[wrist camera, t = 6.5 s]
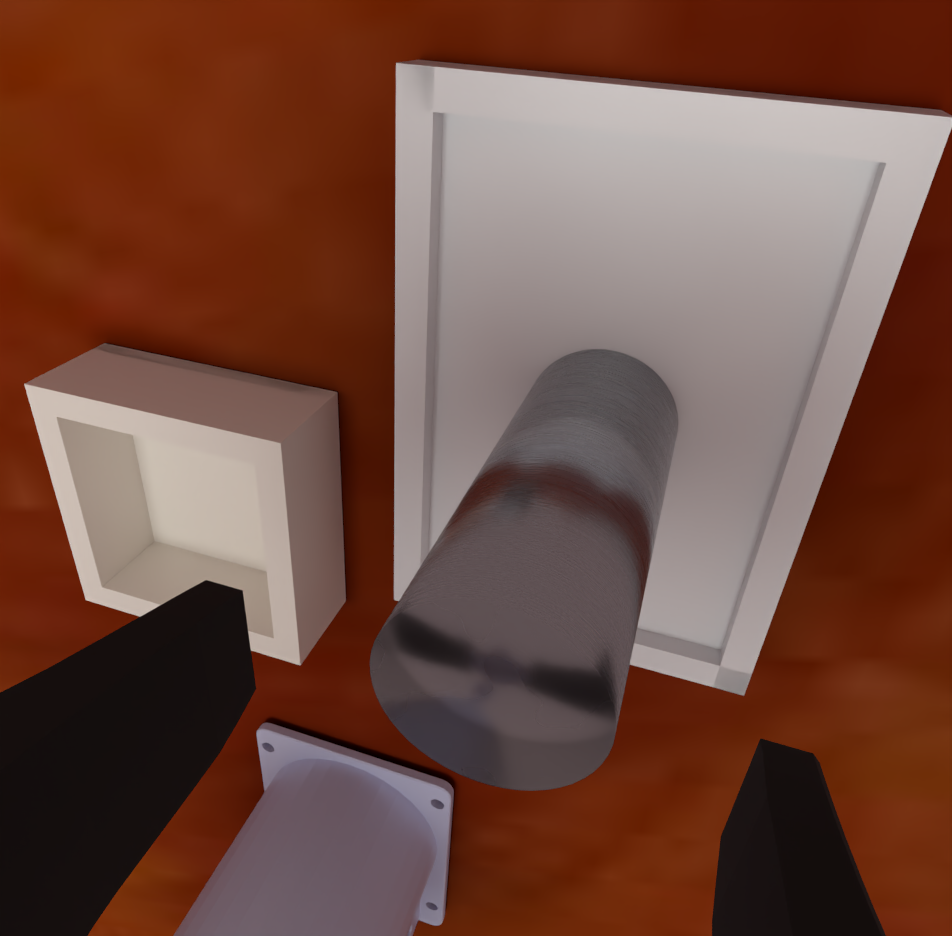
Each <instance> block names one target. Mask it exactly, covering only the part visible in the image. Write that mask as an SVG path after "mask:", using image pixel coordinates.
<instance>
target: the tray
mask: <svg viewBox="0 0 952 936" xmlns="http://www.w3.org/2000/svg"><path fill="white" fill-rule="evenodd" d="M951 128H952V116H951V115H949V114H948V113H946V112H944V111H942V110H936V109H926V108H916V107H905V106H895V105H884V104H874V103H864V102H853V101H843V100H832V99H822V98H812V97H801V96H791V95H781V94H770V93H760V92H749V91H739V90H729V89H718V88H708V87H697V86H687V85H677V84H666V83H656V82H646V81H635V80H625V79H614V78H604V77H594V76H583V75H573V74H562V73H552V72H542V71H531V70H521V69H511V68H500V67H490V66H479V65H469V64H459V63H448V62H438V61H427V60H413V61H406V62H399V63H396V203H395V454H394V600H397V601H399V600H400V599H401V597H402V595H403V594H404V592H405V591H406V589H407V587H408V586H409V584H410V582H411V581H412V579H413V578H414V576H415V574H416V573H417V571H418V570H419V568H420V566H421V565H422V563H423V562H424V560H425V558H426V557H427V555H428V553H429V552H430V550H431V549H432V547H433V545H434V544H435V542H436V541H437V539H438V537H439V536H440V534H441V533H442V531H443V529H444V528H445V526H446V525H447V523H448V521H449V520H450V518H451V516H452V515H453V513H454V512H455V510H456V508H457V507H458V505H459V504H460V502H461V500H462V499H463V497H464V496H465V494H466V492H467V491H468V489H469V488H470V486H471V484H472V483H473V481H474V479H475V478H476V476H477V475H478V473H479V471H480V470H481V468H482V467H483V465H484V463H485V462H486V460H487V459H488V457H489V455H490V454H491V452H492V451H493V449H494V447H495V446H496V444H497V442H498V441H499V439H500V438H501V436H502V434H503V433H504V431H505V430H506V428H507V426H508V425H509V423H510V422H511V420H512V418H513V417H514V415H515V413H516V412H517V410H518V409H519V407H520V405H521V404H522V402H523V401H524V399H525V397H526V396H527V394H528V393H529V391H530V389H531V388H532V386H533V385H534V383H535V381H536V380H537V378H538V377H539V376H540V374H541V373H542V372H543V371H544V370H545V369H546V368H547V367H548V366H549V365H551V364H552V363H553V362H555V361H556V360H558V359H560V358H562V357H564V356H566V355H568V354H571V353H574V352H578V351H582V350H590V349H606V350H612V351H617V352H620V353H624V354H627V355H629V356H631V357H634V358H636V359H638V360H639V361H641V362H643V363H645V364H646V365H647V366H649V367H650V368H651V369H652V370H654V371H655V372H656V373H657V374H658V375H659V376H660V377H661V379H662V380H663V381H664V383H665V384H666V385H667V387H668V389H669V390H670V392H671V394H672V396H673V399H674V401H675V404H676V408H677V412H678V432H677V437H676V442H675V447H674V452H673V457H672V461H671V466H670V471H669V476H668V481H667V486H666V490H665V495H664V500H663V505H662V510H661V515H660V520H659V524H658V529H657V534H656V539H655V544H654V549H653V553H652V558H651V563H650V568H649V573H648V578H647V583H646V587H645V592H644V597H643V602H642V607H641V612H640V617H639V621H638V626H637V631H636V636H635V641H634V646H633V650H632V655H631V660H630V665H634V666H638V667H641V668H645V669H649V670H652V671H656V672H660V673H663V674H667V675H671V676H674V677H678V678H681V679H685V680H689V681H692V682H696V683H700V684H703V685H707V686H711V687H714V688H718V689H722V690H725V691H729V692H733V693H736V694H740V695H744V694H745V691H746V689H747V686H748V683H749V680H750V678H751V675H752V672H753V670H754V667H755V664H756V661H757V659H758V656H759V653H760V650H761V648H762V645H763V642H764V639H765V637H766V634H767V631H768V628H769V626H770V623H771V620H772V618H773V615H774V612H775V609H776V607H777V604H778V601H779V598H780V596H781V593H782V590H783V587H784V585H785V582H786V579H787V577H788V574H789V571H790V568H791V566H792V563H793V560H794V557H795V555H796V552H797V549H798V546H799V544H800V541H801V538H802V536H803V533H804V530H805V527H806V525H807V522H808V519H809V516H810V514H811V511H812V508H813V505H814V503H815V500H816V497H817V494H818V492H819V489H820V486H821V484H822V481H823V478H824V475H825V473H826V470H827V467H828V464H829V462H830V459H831V456H832V453H833V451H834V448H835V445H836V443H837V440H838V437H839V434H840V432H841V429H842V426H843V423H844V421H845V418H846V415H847V412H848V410H849V407H850V404H851V401H852V399H853V396H854V393H855V391H856V388H857V385H858V382H859V380H860V377H861V374H862V371H863V369H864V366H865V363H866V360H867V358H868V355H869V352H870V350H871V347H872V344H873V341H874V339H875V336H876V333H877V330H878V328H879V325H880V322H881V319H882V317H883V314H884V311H885V308H886V306H887V303H888V300H889V298H890V295H891V292H892V289H893V287H894V284H895V281H896V278H897V276H898V273H899V270H900V267H901V265H902V262H903V259H904V257H905V254H906V251H907V248H908V246H909V243H910V240H911V237H912V235H913V232H914V229H915V226H916V224H917V221H918V218H919V216H920V213H921V210H922V207H923V205H924V202H925V199H926V196H927V194H928V191H929V188H930V185H931V183H932V180H933V177H934V174H935V172H936V169H937V166H938V164H939V161H940V158H941V155H942V153H943V150H944V147H945V144H946V142H947V139H948V136H949V133H950V131H951Z"/></svg>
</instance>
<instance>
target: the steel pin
mask: <svg viewBox="0 0 952 936" xmlns="http://www.w3.org/2000/svg"><path fill="white" fill-rule="evenodd" d="M677 432H678V412H677V408H676V404H675V401H674V399H673V396H672V394H671V392H670V390H669V389H668V387H667V385H666V384H665V383H664V381H663V380H662V379H661V377H660V376H659V375H658V374H657V373H656V372H655V371H654V370H652V369H651V368H650V367H649V366H647V365H646V364H645V363H643V362H641V361H639V360H638V359H636V358H634V357H631V356H629V355H627V354H624V353H620V352H617V351H612V350H606V349H590V350H582V351H578V352H574V353H571V354H568V355H566V356H564V357H562V358H560V359H558V360H556V361H555V362H553V363H552V364H551V365H549V366H548V367H547V368H546V369H545V370H544V371H543V372H542V373H541V374H540V376H539V377H538V378H537V380H536V381H535V383H534V385H533V386H532V388H531V389H530V391H529V393H528V394H527V396H526V397H525V399H524V401H523V402H522V404H521V405H520V407H519V409H518V410H517V412H516V413H515V415H514V417H513V418H512V420H511V422H510V423H509V425H508V426H507V428H506V430H505V431H504V433H503V434H502V436H501V438H500V439H499V441H498V442H497V444H496V446H495V447H494V449H493V451H492V452H491V454H490V455H489V457H488V459H487V460H486V462H485V463H484V465H483V467H482V468H481V470H480V471H479V473H478V475H477V476H476V478H475V479H474V481H473V483H472V484H471V486H470V488H469V489H468V491H467V492H466V494H465V496H464V497H463V499H462V500H461V502H460V504H459V505H458V507H457V508H456V510H455V512H454V513H453V515H452V516H451V518H450V520H449V521H448V523H447V525H446V526H445V528H444V529H443V531H442V533H441V534H440V536H439V537H438V539H437V541H436V542H435V544H434V545H433V547H432V549H431V550H430V552H429V553H428V555H427V557H426V558H425V560H424V562H423V563H422V565H421V566H420V568H419V570H418V571H417V573H416V574H415V576H414V578H413V579H412V581H411V582H410V584H409V586H408V587H407V589H406V591H405V592H404V594H403V595H402V597H401V599H400V600H399V602H398V603H397V605H396V607H395V608H394V610H393V611H392V613H391V615H390V616H389V618H388V619H387V621H386V623H385V624H384V626H383V628H382V629H381V631H380V632H379V634H378V636H377V638H376V640H375V642H374V645H373V648H372V651H371V657H370V674H371V679H372V684H373V688H374V690H375V693H376V696H377V698H378V700H379V702H380V704H381V706H382V708H383V710H384V711H385V713H386V714H387V716H388V717H389V719H390V720H391V722H392V723H393V724H394V725H395V727H396V728H397V729H398V730H399V731H400V732H401V733H402V734H403V735H404V736H405V737H406V738H407V739H408V740H409V741H410V742H411V743H412V744H413V745H414V746H415V747H417V748H418V749H419V750H420V751H422V752H423V753H424V754H426V755H427V756H429V757H430V758H431V759H433V760H434V761H436V762H438V763H439V764H441V765H443V766H444V767H446V768H448V769H450V770H452V771H454V772H456V773H458V774H460V775H463V776H465V777H468V778H470V779H473V780H475V781H479V782H482V783H485V784H488V785H492V786H497V787H501V788H507V789H515V790H530V791H534V790H548V789H554V788H560V787H563V786H567V785H570V784H573V783H575V782H577V781H579V780H582V779H584V778H585V777H587V776H588V775H590V774H591V773H593V772H594V771H595V770H596V769H597V768H598V767H599V766H600V765H601V764H602V763H603V762H604V760H605V759H606V757H607V756H608V755H609V752H610V750H611V748H612V745H613V742H614V738H615V733H616V728H617V723H618V718H619V714H620V709H621V704H622V699H623V694H624V689H625V684H626V680H627V675H628V670H629V665H630V660H631V655H632V650H633V646H634V641H635V636H636V631H637V626H638V621H639V617H640V612H641V607H642V602H643V597H644V592H645V587H646V583H647V578H648V573H649V568H650V563H651V558H652V553H653V549H654V544H655V539H656V534H657V529H658V524H659V520H660V515H661V510H662V505H663V500H664V495H665V490H666V486H667V481H668V476H669V471H670V466H671V461H672V457H673V452H674V447H675V442H676V437H677Z"/></svg>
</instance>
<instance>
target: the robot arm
mask: <svg viewBox="0 0 952 936" xmlns="http://www.w3.org/2000/svg"><path fill="white" fill-rule="evenodd" d="M255 689H256V686H255V678H254V671H253V663H252V656H251V648H250V641H249V634H248V626H247V619H246V611H245V604H244V596H243V590H240V589H236V588H233V587H229V586H226V585H222V584H219V583H215V582H212V581H208V580H205V581H203V582H201V583H200V584H198V585H196V586H194V587H192V588H190V589H188V590H187V591H185V592H183V593H181V594H179V595H178V596H176V597H174V598H172V599H170V600H169V601H167V602H165V603H163V604H162V605H160V606H158V607H156V608H155V609H153V610H151V611H149V612H148V613H146V614H144V615H142V616H141V617H139V618H137V619H135V620H134V621H132V622H130V623H128V624H127V625H125V626H123V627H121V628H120V629H118V630H116V631H114V632H113V633H111V634H109V635H107V636H106V637H104V638H102V639H100V640H98V641H97V642H95V643H93V644H91V645H89V646H88V647H86V648H84V649H82V650H80V651H79V652H77V653H75V654H73V655H71V656H70V657H68V658H66V659H64V660H62V661H61V662H59V663H57V664H55V665H53V666H51V667H50V668H48V669H46V670H44V671H42V672H40V673H38V674H36V675H34V676H32V677H30V678H28V679H26V680H24V681H22V682H20V683H18V684H17V685H15V686H13V687H11V688H9V689H7V690H5V691H3V692H1V693H0V936H87V935H88V934H89V932H90V931H91V929H92V927H93V926H94V924H95V923H96V921H97V920H98V918H99V917H100V916H101V914H102V913H103V911H104V910H105V908H106V907H107V905H108V904H109V903H110V901H111V900H112V898H113V897H114V895H115V894H116V892H117V891H118V890H119V888H120V887H121V886H122V884H123V883H124V882H125V880H126V879H127V878H128V876H129V875H130V874H131V872H132V871H133V869H134V868H135V867H136V865H137V864H138V863H139V861H140V860H141V859H142V857H143V856H144V855H145V853H146V852H147V851H148V849H149V848H150V847H151V845H152V844H153V843H154V841H155V840H156V839H157V837H158V836H159V835H160V833H161V832H162V831H163V829H164V828H165V826H166V825H167V824H168V822H169V821H170V820H171V818H172V817H173V816H174V814H175V813H176V812H177V810H178V809H179V808H180V806H181V805H182V804H183V802H184V801H185V800H186V798H187V797H188V796H189V794H190V793H191V791H192V790H193V789H194V787H195V786H196V785H197V783H198V782H199V780H200V779H201V778H202V776H203V775H204V774H205V772H206V771H207V770H208V768H209V767H210V765H211V764H212V763H213V761H214V760H215V758H216V757H217V756H218V754H219V753H220V751H221V750H222V748H223V746H224V744H225V743H226V741H227V739H228V738H229V736H230V734H231V733H232V731H233V729H234V727H235V726H236V724H237V722H238V720H239V719H240V717H241V715H242V713H243V711H244V710H245V708H246V706H247V704H248V702H249V700H250V699H251V697H252V695H253V693H254V691H255ZM256 735H257V742H258V749H259V756H260V763H261V770H262V777H263V784H264V791H265V792H264V794H263V796H262V797H261V799H260V800H259V802H258V803H257V805H256V807H255V808H254V810H253V811H252V813H251V814H250V816H249V818H248V819H247V821H246V822H245V824H244V825H243V827H242V829H241V830H240V832H239V833H238V835H237V836H236V838H235V840H234V841H233V843H232V844H231V846H230V847H229V849H228V851H227V852H226V854H225V855H224V857H223V859H222V860H221V862H220V863H219V865H218V866H217V868H216V870H215V871H214V873H213V874H212V876H211V877H210V879H209V881H208V882H207V884H206V885H205V887H204V888H203V890H202V892H201V893H200V895H199V896H198V898H197V899H196V901H195V903H194V904H193V906H192V907H191V909H190V910H189V912H188V914H187V915H186V917H185V918H184V920H183V921H182V923H181V925H180V926H179V928H178V929H177V931H176V932H175V934H174V936H412V935H413V933H414V930H415V928H416V925H417V922H418V920H420V921H423V922H425V923H428V924H431V925H440V924H442V922H443V919H444V916H445V908H446V894H447V880H448V867H449V853H450V840H451V826H452V813H453V799H454V790H453V787H452V786H451V785H450V784H449V783H448V782H447V781H445V780H443V779H440V778H437V777H434V776H431V775H428V774H425V773H422V772H419V771H416V770H413V769H410V768H407V767H404V766H400V765H397V764H394V763H391V762H388V761H385V760H382V759H379V758H376V757H373V756H370V755H367V754H364V753H361V752H358V751H355V750H352V749H349V748H346V747H342V746H339V745H336V744H333V743H330V742H327V741H324V740H321V739H318V738H315V737H312V736H309V735H306V734H303V733H300V732H297V731H294V730H291V729H287V728H284V727H281V726H278V725H275V724H272V723H263V724H262V725H261V726H260V727H259V729H258V730H257V733H256ZM712 936H886V935H885V933H884V930H883V928H882V926H881V924H880V921H879V919H878V917H877V914H876V912H875V910H874V908H873V905H872V903H871V900H870V898H869V895H868V893H867V891H866V888H865V886H864V883H863V881H862V878H861V876H860V873H859V871H858V868H857V866H856V863H855V861H854V858H853V855H852V853H851V850H850V848H849V845H848V843H847V840H846V837H845V835H844V832H843V829H842V827H841V824H840V821H839V818H838V816H837V813H836V810H835V807H834V804H833V802H832V799H831V796H830V793H829V790H828V787H827V784H826V781H825V778H824V775H823V772H822V769H821V766H820V763H819V761H818V760H817V759H816V757H815V756H814V754H813V753H809V752H806V751H802V750H799V749H795V748H792V747H788V746H785V745H781V744H778V743H774V742H771V741H767V740H764V739H760V741H759V744H758V746H757V749H756V751H755V754H754V756H753V759H752V761H751V764H750V766H749V769H748V771H747V773H746V776H745V778H744V781H743V783H742V786H741V788H740V791H739V793H738V796H737V798H736V801H735V803H734V806H733V808H732V811H731V813H730V816H729V818H728V821H727V823H726V826H725V828H724V831H723V833H722V835H721V841H720V850H719V860H718V869H717V878H716V888H715V898H714V909H713V919H712Z"/></svg>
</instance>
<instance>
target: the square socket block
mask: <svg viewBox="0 0 952 936" xmlns="http://www.w3.org/2000/svg"><path fill="white" fill-rule="evenodd" d="M24 385H25V389H26V392H27V396H28V399H29V403H30V406H31V410H32V413H33V417H34V420H35V424H36V427H37V431H38V434H39V438H40V441H41V445H42V448H43V452H44V455H45V459H46V462H47V466H48V469H49V473H50V476H51V480H52V483H53V487H54V490H55V494H56V497H57V501H58V504H59V508H60V511H61V515H62V518H63V522H64V525H65V529H66V532H67V536H68V539H69V543H70V546H71V550H72V553H73V557H74V560H75V564H76V567H77V571H78V574H79V578H80V581H81V585H82V588H83V592H84V595H85V599H86V600H87V601H91V602H94V603H97V604H100V605H104V606H107V607H110V608H114V609H117V610H120V611H123V612H127V613H130V614H133V615H137V616H140V617H141V616H142V615H144V614H146V613H148V612H149V611H151V610H153V609H155V608H156V607H158V606H160V605H162V604H163V603H165V602H167V601H169V600H170V599H172V598H174V597H176V596H178V595H179V594H181V593H183V592H185V591H187V590H188V589H190V588H192V587H194V586H196V585H198V584H200V583H201V582H203V581H205V580H208V581H212V582H215V583H219V584H222V585H226V586H229V587H233V588H236V589H240V590H243V596H244V604H245V611H246V619H247V626H248V634H249V641H250V648H251V651H255V652H258V653H261V654H264V655H268V656H271V657H274V658H278V659H281V660H284V661H287V662H291V663H294V664H297V665H301V664H302V663H303V661H304V660H305V658H306V657H307V655H308V654H309V653H310V651H311V650H312V648H313V647H314V646H315V644H316V643H317V641H318V640H319V638H320V637H321V636H322V634H323V633H324V631H325V630H326V628H327V627H328V626H329V624H330V623H331V621H332V620H333V619H334V617H335V616H336V614H337V613H338V611H339V610H340V609H341V607H342V606H343V604H344V603H345V601H346V588H345V564H344V539H343V515H342V491H341V466H340V442H339V418H338V393H337V392H335V391H330V390H325V389H320V388H316V387H311V386H306V385H301V384H297V383H292V382H287V381H282V380H278V379H273V378H268V377H263V376H259V375H254V374H249V373H244V372H239V371H235V370H230V369H225V368H220V367H216V366H211V365H206V364H201V363H197V362H192V361H187V360H182V359H177V358H173V357H168V356H163V355H158V354H154V353H149V352H144V351H139V350H135V349H130V348H125V347H120V346H116V345H111V344H106V343H104V344H102V345H100V346H98V347H96V348H94V349H92V350H90V351H88V352H86V353H84V354H82V355H80V356H78V357H76V358H74V359H72V360H70V361H68V362H66V363H64V364H63V365H61V366H59V367H57V368H55V369H53V370H51V371H49V372H47V373H45V374H43V375H41V376H39V377H37V378H35V379H33V380H31V381H29V382H27V383H25V384H24Z"/></svg>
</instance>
